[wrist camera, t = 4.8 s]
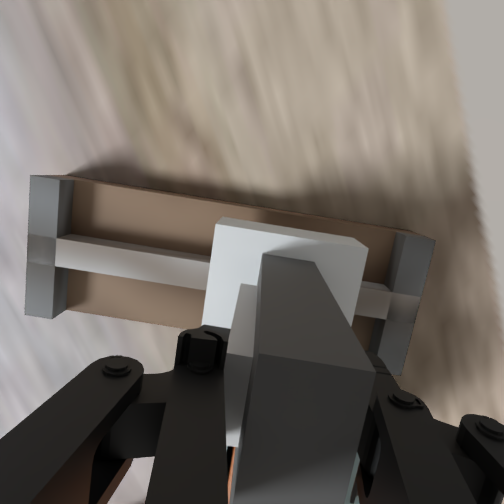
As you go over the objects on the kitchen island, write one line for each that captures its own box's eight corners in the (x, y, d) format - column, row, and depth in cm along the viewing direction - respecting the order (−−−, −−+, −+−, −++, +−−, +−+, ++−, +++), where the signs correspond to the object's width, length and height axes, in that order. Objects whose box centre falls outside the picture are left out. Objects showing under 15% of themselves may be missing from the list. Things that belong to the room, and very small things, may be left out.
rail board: (64, 175, 24) (30, 175, 21) (410, 230, 24) (435, 240, 21) (57, 295, 26) (24, 314, 22) (382, 348, 26) (400, 375, 22)
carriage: (222, 216, 20) (151, 288, 8) (353, 237, 20) (503, 345, 8) (205, 338, 22) (120, 572, 9) (327, 358, 22) (416, 620, 9)
